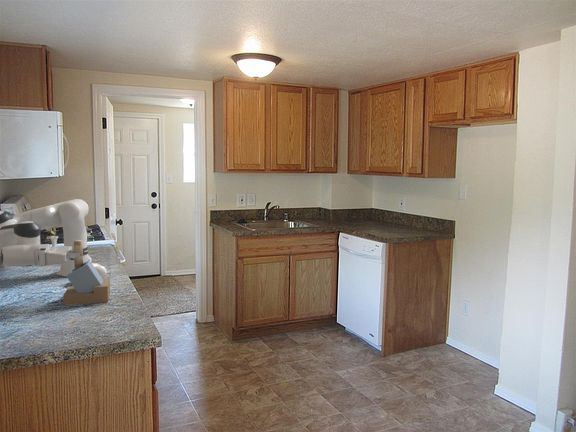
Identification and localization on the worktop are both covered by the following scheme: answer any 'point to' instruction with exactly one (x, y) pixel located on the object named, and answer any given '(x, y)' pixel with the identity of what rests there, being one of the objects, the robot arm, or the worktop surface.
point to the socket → (86, 286)
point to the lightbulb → (101, 271)
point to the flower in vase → (53, 237)
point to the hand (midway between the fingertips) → (80, 253)
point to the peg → (79, 248)
